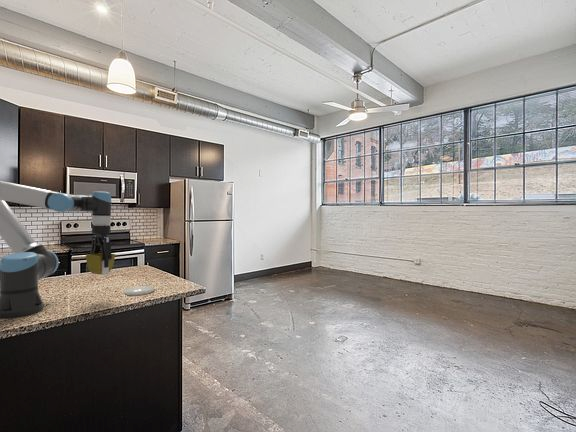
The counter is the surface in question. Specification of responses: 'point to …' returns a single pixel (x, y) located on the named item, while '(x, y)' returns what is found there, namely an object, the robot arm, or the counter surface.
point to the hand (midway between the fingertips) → (100, 272)
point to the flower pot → (97, 263)
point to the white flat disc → (139, 290)
